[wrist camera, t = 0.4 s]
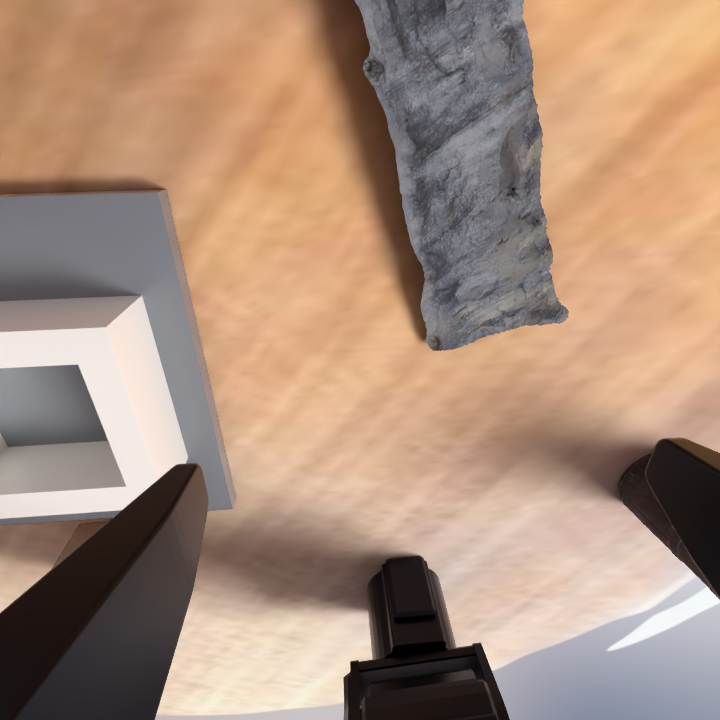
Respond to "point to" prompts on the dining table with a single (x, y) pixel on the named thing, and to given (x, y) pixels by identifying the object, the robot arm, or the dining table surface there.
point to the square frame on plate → (98, 358)
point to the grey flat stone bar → (466, 161)
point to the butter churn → (653, 513)
